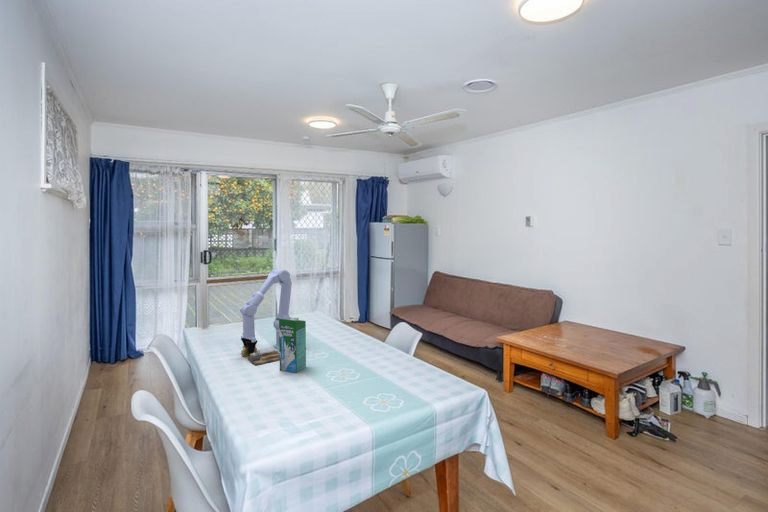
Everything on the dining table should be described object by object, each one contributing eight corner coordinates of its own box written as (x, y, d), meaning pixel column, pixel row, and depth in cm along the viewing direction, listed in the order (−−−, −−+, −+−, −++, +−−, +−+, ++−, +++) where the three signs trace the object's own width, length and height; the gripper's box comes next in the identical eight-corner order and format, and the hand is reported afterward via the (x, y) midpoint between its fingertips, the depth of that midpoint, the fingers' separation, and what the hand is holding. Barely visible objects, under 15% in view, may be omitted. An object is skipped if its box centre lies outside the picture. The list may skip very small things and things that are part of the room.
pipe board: (276, 352, 212) (276, 343, 212) (286, 359, 203) (286, 349, 203) (247, 358, 203) (246, 349, 202) (255, 365, 193) (255, 355, 193)
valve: (255, 352, 212) (254, 342, 212) (257, 354, 209) (257, 344, 209) (240, 355, 208) (240, 345, 207) (243, 357, 204) (243, 346, 204)
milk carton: (306, 366, 193) (305, 316, 191) (296, 373, 184) (295, 320, 182) (290, 364, 196) (289, 314, 194) (279, 370, 187) (278, 318, 185)
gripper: (236, 325, 210) (237, 350, 211) (245, 331, 199) (246, 357, 200) (249, 323, 215) (250, 347, 216) (259, 329, 203) (260, 354, 204)
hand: (249, 352), depth 208 cm, fingers open, 5 cm apart
